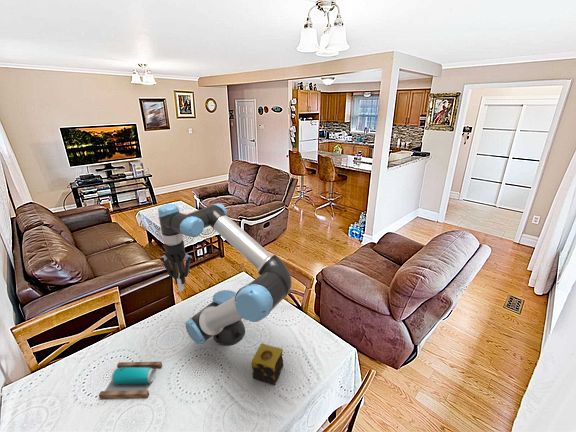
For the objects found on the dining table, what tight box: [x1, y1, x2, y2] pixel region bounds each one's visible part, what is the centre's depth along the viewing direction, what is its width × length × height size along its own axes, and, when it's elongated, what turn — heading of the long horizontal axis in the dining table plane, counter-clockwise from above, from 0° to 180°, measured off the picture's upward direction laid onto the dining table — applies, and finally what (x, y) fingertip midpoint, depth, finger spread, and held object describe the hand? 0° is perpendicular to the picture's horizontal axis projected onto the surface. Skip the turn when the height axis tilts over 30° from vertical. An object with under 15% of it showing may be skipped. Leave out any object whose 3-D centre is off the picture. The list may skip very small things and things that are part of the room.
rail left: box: [98, 389, 150, 400], centre depth 109 cm, size 18×2×2 cm, turn 91°
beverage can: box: [110, 367, 156, 384], centre depth 114 cm, size 6×6×15 cm
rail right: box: [116, 361, 163, 370], centre depth 121 cm, size 18×2×2 cm, turn 91°
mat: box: [104, 369, 157, 391], centre depth 115 cm, size 16×11×1 cm
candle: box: [251, 343, 284, 386], centre depth 117 cm, size 10×10×10 cm
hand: (181, 289), depth 124 cm, fingers closed
